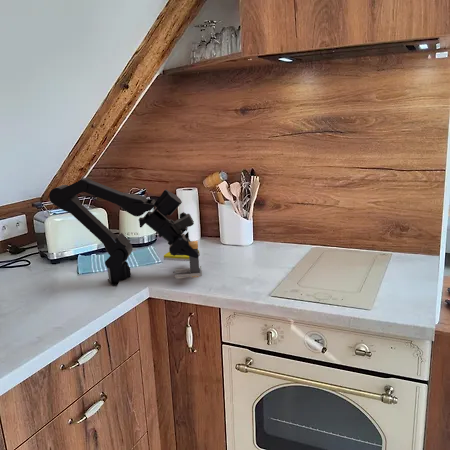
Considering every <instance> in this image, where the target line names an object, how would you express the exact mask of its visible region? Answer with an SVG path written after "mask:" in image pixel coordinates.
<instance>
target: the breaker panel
mask: <svg viewBox="0 0 450 450" xmlns="http://www.w3.org/2000/svg"><path fill="white" fill-rule="evenodd" d="M199 268H200V273H191V274H190V267H189V268H179V269H178V268H177V269H174V271H172V273H173V274H174V273H175V274H174V279H185V278H199V277H201V276H202V275H203V272H202V271H203V270H202V269H203V268H202V265H199Z"/></svg>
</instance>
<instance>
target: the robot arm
mask: <svg viewBox="0 0 450 450" xmlns="http://www.w3.org/2000/svg"><path fill="white" fill-rule="evenodd" d="M81 193H86V194H88V195H91V196H94V197H97V198H98V199H102V200H104V201H106V202H109V203H111V204H115V205H117V206H118V207H120V208H121V209H122V210H123V211H125V212H127V214H130V215H132V216H134V217H139V219H138V223H139V228H140V229H141V228H143V226H144V225H145V224H146V225H147V226H148V227H149V228H150V229H152V230H153V231H154V232H155V233H157V236H158V237H159V238H162V239H164V240H165V241H166V242H167V244H168V245H169V248H168V249H169V250H168V252H170V253H171V254H172V255H173V256H175V255H176V254H183V255H187V256H191V257H194V258H198V257H200V256H199V255H198V254H197V253H196V251H195V250H194V249H193V248H192V247H191V246H190V245H189V241H191V239H190V235H189V231H188V228H189V227H191V226H194V225H195V223H194V219H193V218H192V216H191V215H192V214H190V213H185V212H184V211H183V212H181V213H180V214H179V218H177V219H176V220H175V221H174V220H173V219H169V218H167V216H172V215H173V213H174V212H175V211H176V210H177V209H178V208H179V207H180V206H181V205H182V204H183V200H181V199H180V197H179V196H178V195H177V194H175V193H173V192H171V191H170V190H168V189H164V190H163V192H162V193H161V194H160V196H159V197H158V198H157V199H153V198H147V197H146V196H143V195H142V194H141V195H140V194H135V193H126V192H122V191H120V190H118V189H114V188H113V187H109V186H107V185H105V184H102V183H99V182H97V181H94V180H92V179H90V178H89V177H83V178H81V179H79V180H78V181H76V182H74V183H71V184H70V185H68V184H62V185H58V186H57V187H54V188H52V189H51V190H50V192H49V193H48V197H49V198H48V200H49V201H50V203H51V204H53V205H54V206H55V207H57V208H59V209H60V210H62V211H64V212H66V213H69V214H70V215H72V216H73V217H74V218H75V219H76V220H77V221H78V222H79V223H81V224H82V225H83V227H85V229H86V230H87V231H89V232H91V234H92V235H94V237H96V239H98V240H99V241H100V242H101V243H102V244H103V246H104V248H105V250H106V252H107V254H108V255H109V257H108V258H107V259H106V260H105V261H104V265H105V267H106V268H107V275H108V278H107V282H108V283H109V284H110V285H111V286H118V285H119V282H121V281H125V280H127V279H129V278H131V277H132V275H131V273H132V272H131V266H130V265H129V262H128V261H127V260H128V258H129V256H130V255H132V253H133V244H132V243H131V240H130V239H128V238H127V237H126V236H125V234H123V233H122V232H121V233H120V234H116V233H114V232H113V231H111V230H110V229H109V228H108V227H107V226H106V225H105V224H104V223H102V221H100V219H99V218H97V217H96V216H95V215H94V214H93V213H92V212H91V211H90V210H88V208H87V207H86V206H84V205H83V204H82V202H81V200H80V198H79V196H78V194H81ZM154 207H155V208H154ZM153 208H154V209H153ZM152 209H153V210H152ZM145 213H146V214H145ZM144 214H145V215H144ZM143 215H144V216H143ZM140 216H143V217H140ZM185 232H186V233H185ZM198 253H200V251H199V252H198Z"/></svg>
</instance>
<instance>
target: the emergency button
mask: <svg viewBox="0 0 450 450" xmlns="http://www.w3.org/2000/svg"><path fill="white" fill-rule="evenodd" d="M198 252H199V253H198V255H199V257H200V255H201V254H200V253H201V252H200V250H199V249H198ZM163 260H165V261H182V262H183V261H184V262H190V261H189V256H187V255H183V254H176V255H175V256H173V255H172V254H171V253H170V252H169V251H168V252H167V253H165V254H163Z"/></svg>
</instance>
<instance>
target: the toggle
mask: <svg viewBox="0 0 450 450" xmlns="http://www.w3.org/2000/svg"><path fill="white" fill-rule="evenodd" d="M189 245H190V246H191V247H192V248H193V249H194V250H195V251H196V253H197V254H198V250H199V241H198V240H194V241H193V240H190V241H189ZM199 257H200V256H199ZM199 257H198V258H194V257H191V256H189V261H188V262H189V268H190V272H189V274H191V273H200V259H199ZM200 274H201V273H200Z"/></svg>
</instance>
